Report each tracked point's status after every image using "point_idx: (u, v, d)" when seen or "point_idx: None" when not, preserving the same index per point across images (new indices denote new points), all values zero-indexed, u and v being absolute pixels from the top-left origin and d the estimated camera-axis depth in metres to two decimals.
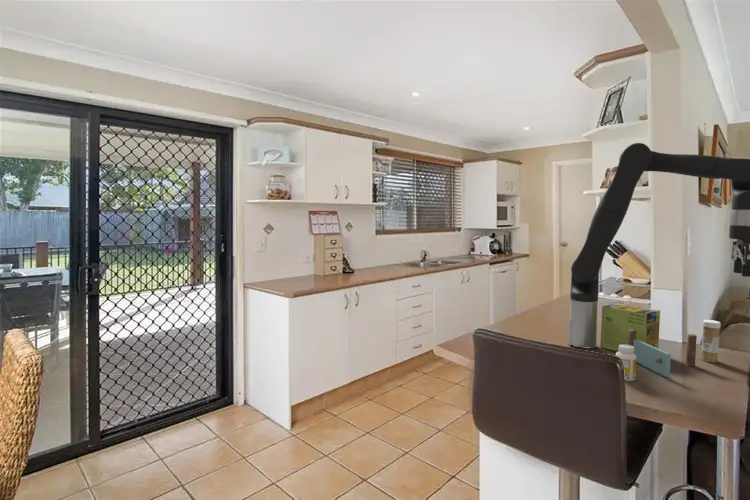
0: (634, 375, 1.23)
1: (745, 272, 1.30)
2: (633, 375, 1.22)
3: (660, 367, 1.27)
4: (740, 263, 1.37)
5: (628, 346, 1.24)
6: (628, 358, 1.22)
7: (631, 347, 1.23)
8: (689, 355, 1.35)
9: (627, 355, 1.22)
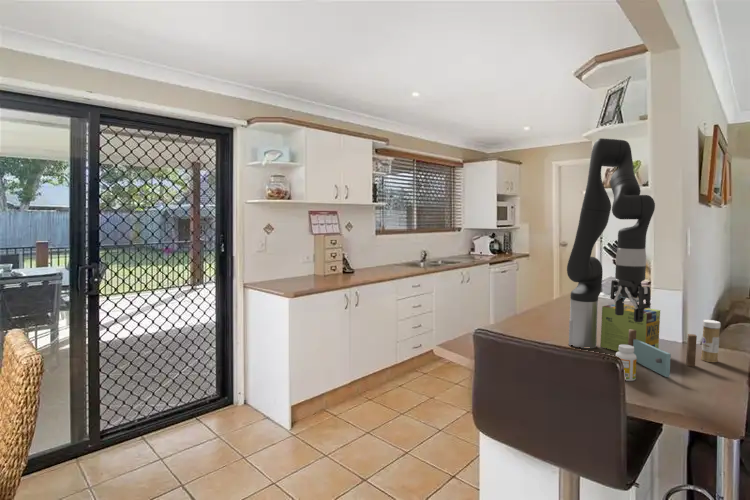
0: (634, 375, 1.23)
1: None
2: (633, 375, 1.22)
3: (660, 367, 1.27)
4: None
5: (628, 346, 1.24)
6: (628, 358, 1.22)
7: (631, 347, 1.23)
8: (689, 355, 1.35)
9: (627, 355, 1.22)
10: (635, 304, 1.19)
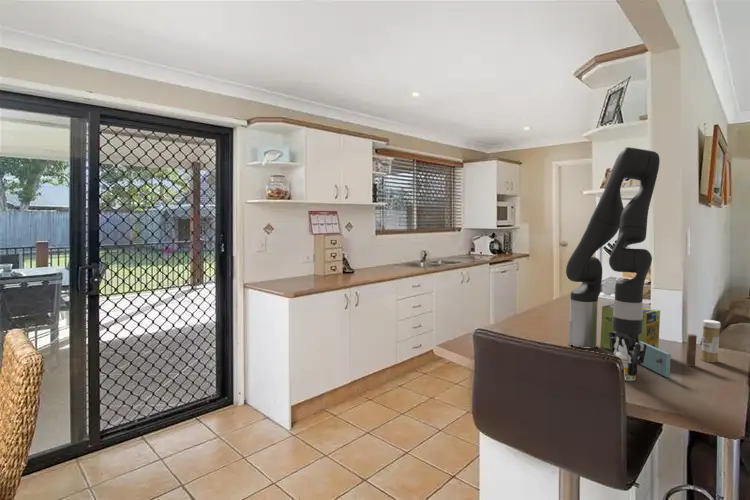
0: None
1: None
2: None
3: (660, 367, 1.27)
4: None
5: None
6: None
7: None
8: (689, 355, 1.35)
9: None
10: (629, 358, 1.21)
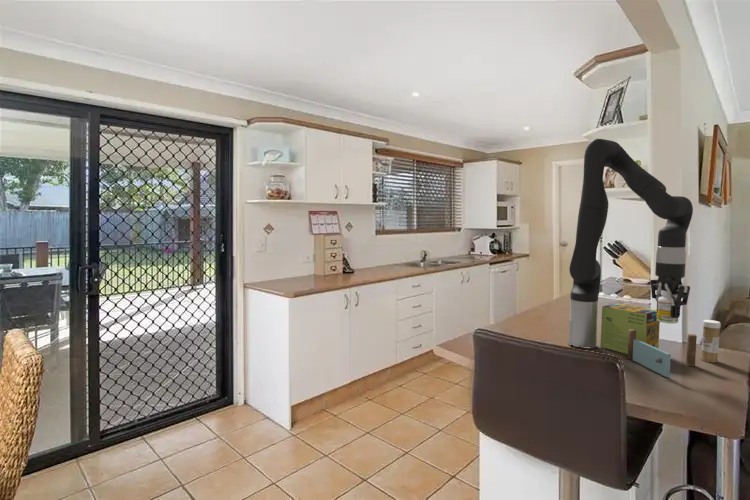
0: None
1: None
2: None
3: (660, 367, 1.27)
4: None
5: None
6: None
7: None
8: (689, 355, 1.35)
9: None
10: (672, 301, 1.26)
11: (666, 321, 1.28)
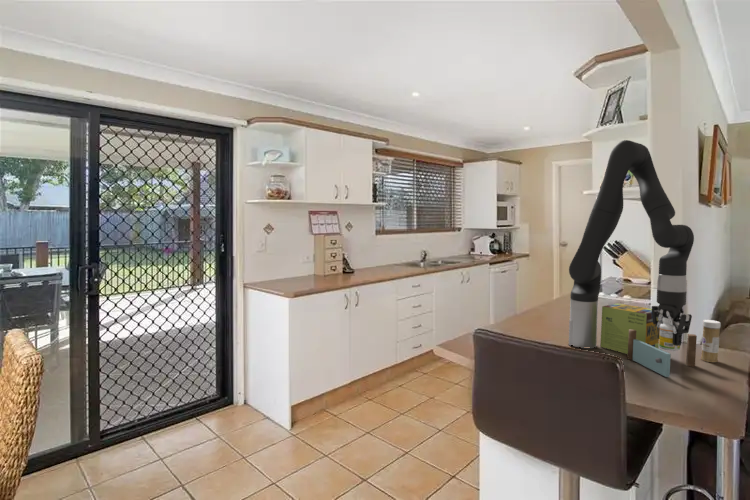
0: None
1: None
2: None
3: (660, 367, 1.27)
4: None
5: None
6: None
7: None
8: (689, 355, 1.35)
9: None
10: (674, 329, 1.28)
11: (668, 348, 1.29)
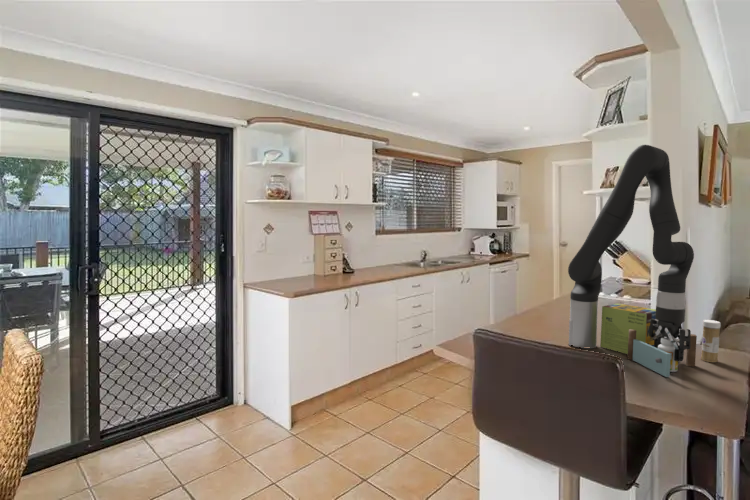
0: (676, 366, 1.30)
1: None
2: (675, 366, 1.29)
3: (660, 367, 1.27)
4: None
5: None
6: (671, 351, 1.29)
7: None
8: (689, 355, 1.35)
9: (670, 348, 1.29)
10: (676, 345, 1.27)
11: None
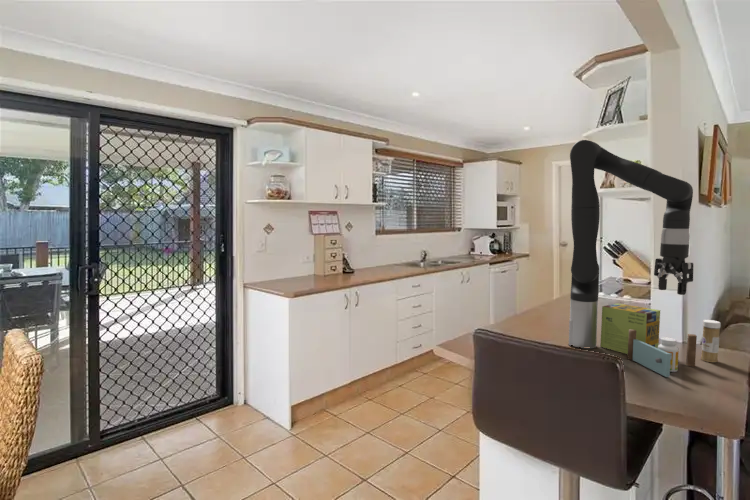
0: (676, 366, 1.30)
1: None
2: (675, 366, 1.29)
3: (660, 367, 1.27)
4: None
5: (670, 339, 1.31)
6: (671, 351, 1.29)
7: (673, 340, 1.30)
8: (689, 355, 1.35)
9: (670, 348, 1.29)
10: (679, 278, 1.32)
11: None
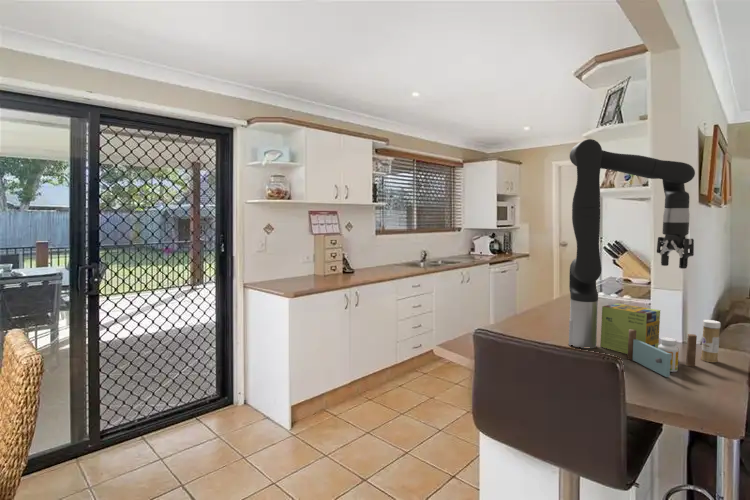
0: (676, 366, 1.30)
1: None
2: (675, 366, 1.29)
3: (660, 367, 1.27)
4: None
5: (670, 339, 1.31)
6: (671, 351, 1.29)
7: (673, 340, 1.30)
8: (689, 355, 1.35)
9: (670, 348, 1.29)
10: (680, 253, 1.44)
11: None
